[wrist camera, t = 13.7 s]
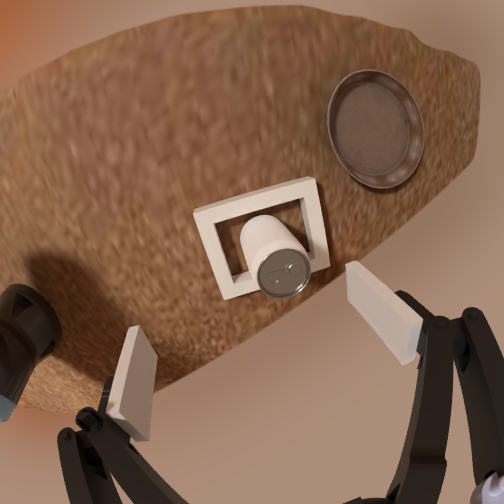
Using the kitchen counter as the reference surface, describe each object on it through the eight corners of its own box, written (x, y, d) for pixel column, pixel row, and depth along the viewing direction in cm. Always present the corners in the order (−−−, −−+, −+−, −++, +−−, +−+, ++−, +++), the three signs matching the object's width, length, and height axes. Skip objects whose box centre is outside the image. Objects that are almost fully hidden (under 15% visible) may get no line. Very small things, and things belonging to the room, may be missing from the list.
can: (290, 247, 39) (321, 288, 28) (249, 264, 39) (264, 311, 28) (277, 206, 37) (306, 234, 26) (232, 224, 37) (243, 259, 26)
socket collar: (223, 291, 40) (224, 300, 38) (194, 209, 35) (193, 213, 33) (324, 259, 41) (330, 266, 39) (308, 176, 36) (315, 178, 33)
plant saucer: (420, 101, 33) (432, 101, 31) (400, 197, 39) (411, 201, 37) (331, 55, 30) (340, 49, 27) (306, 167, 36) (314, 169, 33)
